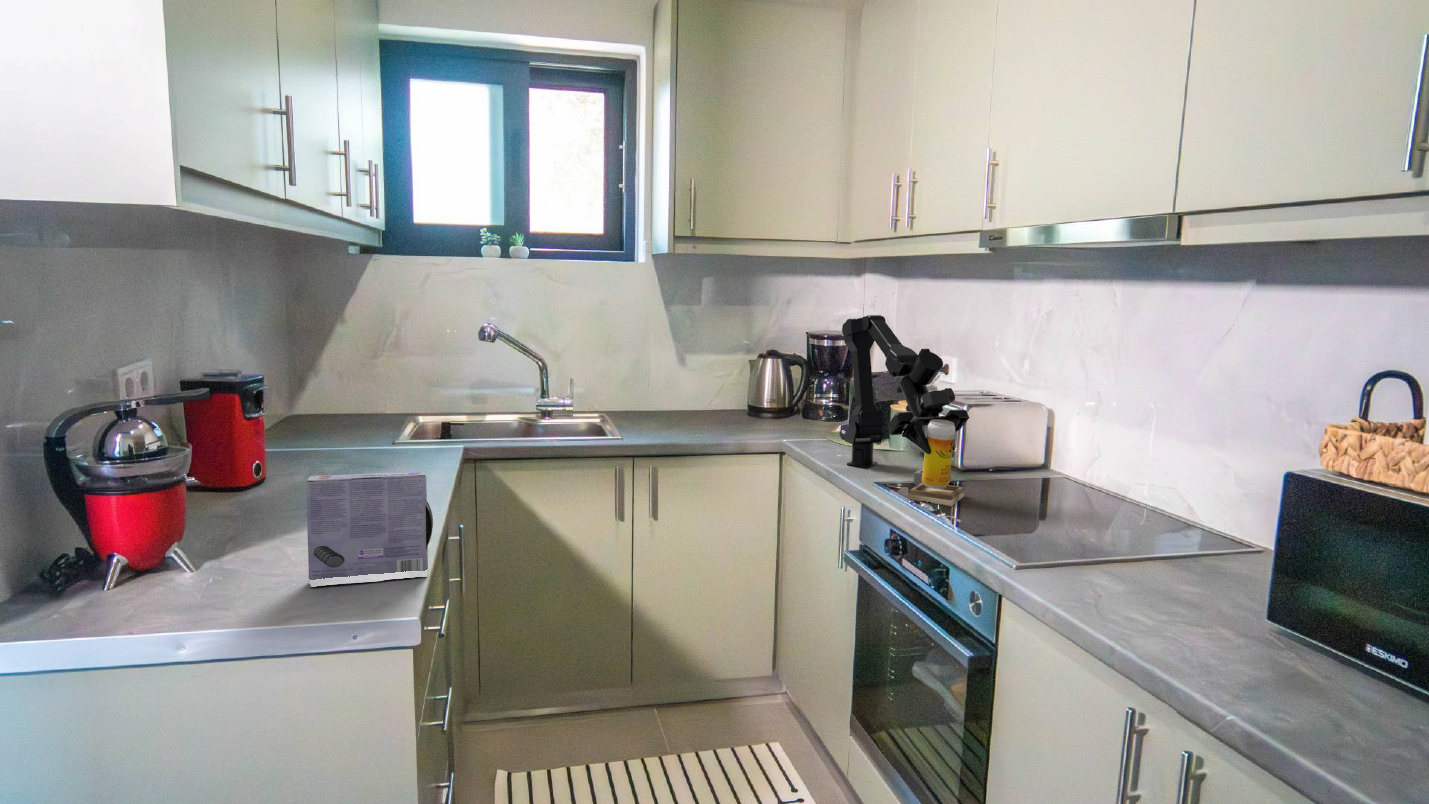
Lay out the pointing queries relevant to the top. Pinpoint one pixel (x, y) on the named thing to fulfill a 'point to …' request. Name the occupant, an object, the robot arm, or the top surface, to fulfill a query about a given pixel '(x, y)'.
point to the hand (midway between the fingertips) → (941, 452)
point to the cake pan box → (367, 524)
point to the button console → (919, 477)
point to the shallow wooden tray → (937, 494)
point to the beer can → (938, 454)
